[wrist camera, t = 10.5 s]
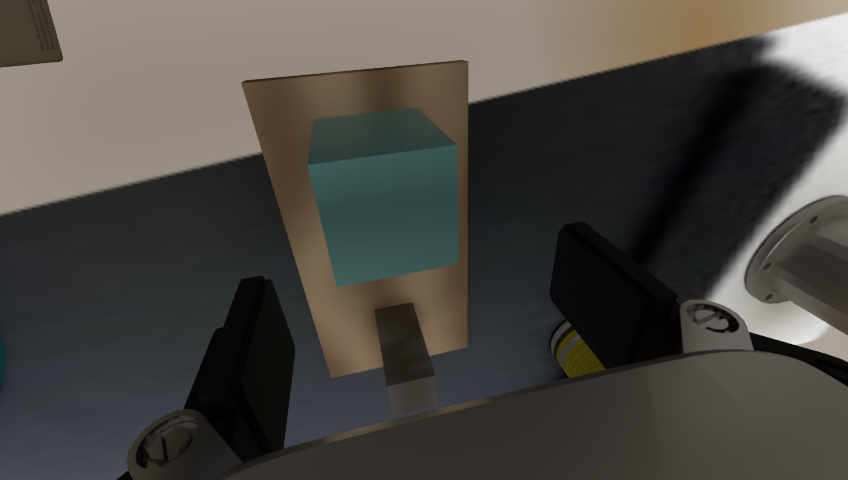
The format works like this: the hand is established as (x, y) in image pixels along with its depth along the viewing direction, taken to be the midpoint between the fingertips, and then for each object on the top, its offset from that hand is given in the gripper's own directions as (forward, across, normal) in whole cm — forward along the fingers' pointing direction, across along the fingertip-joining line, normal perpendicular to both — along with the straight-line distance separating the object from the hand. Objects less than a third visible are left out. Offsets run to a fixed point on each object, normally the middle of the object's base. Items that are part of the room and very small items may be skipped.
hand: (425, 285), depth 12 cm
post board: (+13, +1, +6) cm, 15 cm away
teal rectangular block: (+12, +1, 0) cm, 12 cm away
